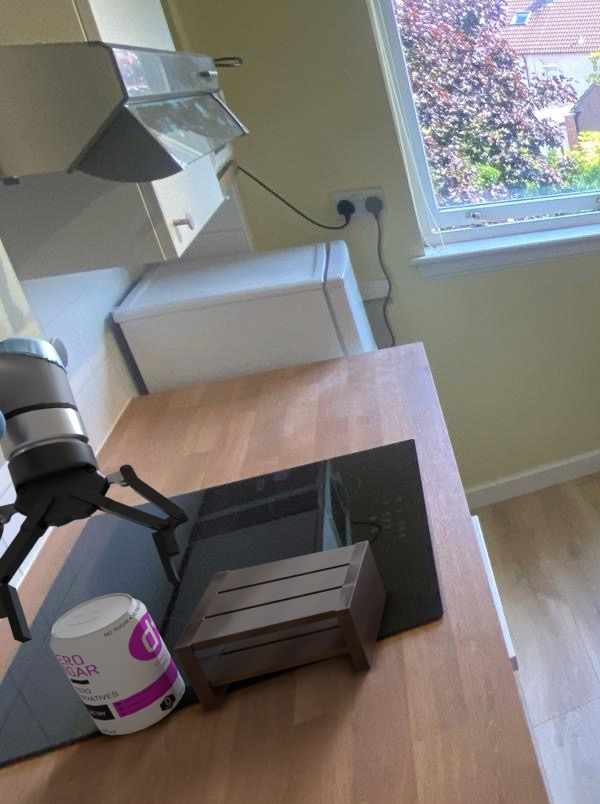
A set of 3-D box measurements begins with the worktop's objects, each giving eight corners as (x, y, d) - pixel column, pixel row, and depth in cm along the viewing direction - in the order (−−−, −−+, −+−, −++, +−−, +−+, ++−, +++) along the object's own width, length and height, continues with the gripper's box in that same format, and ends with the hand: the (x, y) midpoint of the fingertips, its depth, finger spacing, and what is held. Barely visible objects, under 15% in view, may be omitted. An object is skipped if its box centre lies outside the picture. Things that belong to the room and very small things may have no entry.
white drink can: (197, 674, 94) (152, 582, 87) (170, 727, 86) (118, 631, 80) (121, 692, 91) (69, 599, 85) (86, 748, 84) (26, 651, 78)
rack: (204, 711, 88) (173, 649, 84) (241, 630, 100) (215, 572, 96) (370, 668, 94) (348, 608, 90) (386, 596, 106) (368, 540, 102)
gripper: (181, 428, 101) (233, 566, 97) (-84, 503, 86) (-35, 671, 82) (169, 407, 96) (225, 553, 91) (-116, 484, 80) (-65, 663, 76)
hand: (102, 609), depth 87 cm, fingers open, 13 cm apart
